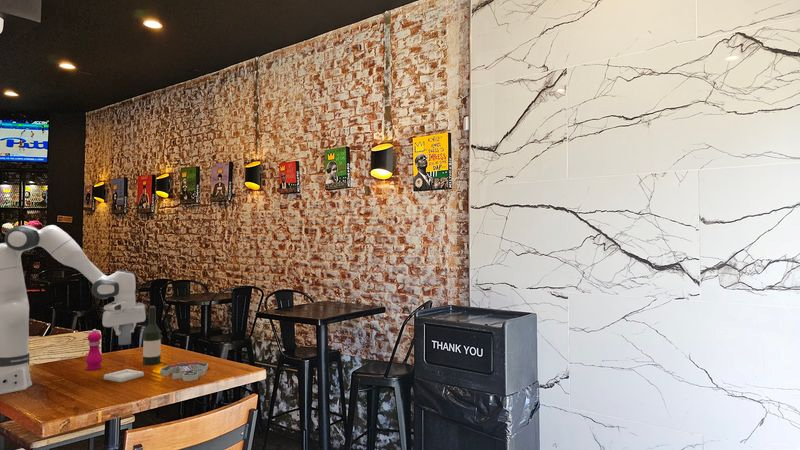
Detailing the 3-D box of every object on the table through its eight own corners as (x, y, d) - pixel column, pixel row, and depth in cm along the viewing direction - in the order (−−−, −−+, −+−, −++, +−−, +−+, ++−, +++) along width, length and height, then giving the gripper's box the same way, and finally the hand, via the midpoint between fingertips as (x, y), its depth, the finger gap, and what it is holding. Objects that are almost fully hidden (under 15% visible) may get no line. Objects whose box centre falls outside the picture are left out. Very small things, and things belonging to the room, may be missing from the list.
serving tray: (120, 382, 241) (120, 377, 241) (103, 379, 246) (103, 374, 246) (143, 376, 252) (143, 372, 252) (127, 373, 257) (127, 369, 257)
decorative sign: (204, 359, 275) (216, 372, 250) (204, 365, 275) (216, 378, 250) (158, 364, 264) (166, 378, 238) (157, 370, 264) (166, 385, 238)
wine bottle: (143, 362, 279) (143, 305, 280) (160, 361, 283) (161, 304, 283) (142, 366, 272) (143, 307, 272) (160, 364, 275) (161, 306, 276)
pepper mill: (96, 370, 262) (97, 330, 263) (82, 370, 262) (83, 330, 263) (105, 367, 269) (105, 327, 270) (91, 366, 269) (91, 327, 270)
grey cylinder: (123, 345, 246) (123, 325, 246) (116, 344, 248) (116, 325, 248) (133, 343, 251) (133, 324, 251) (126, 342, 253) (126, 323, 253)
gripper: (140, 301, 261) (139, 329, 260) (100, 306, 242) (100, 336, 242) (148, 302, 258) (148, 330, 257) (109, 307, 239) (108, 338, 239)
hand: (124, 333), depth 250 cm, fingers closed on grey cylinder, 5 cm apart
